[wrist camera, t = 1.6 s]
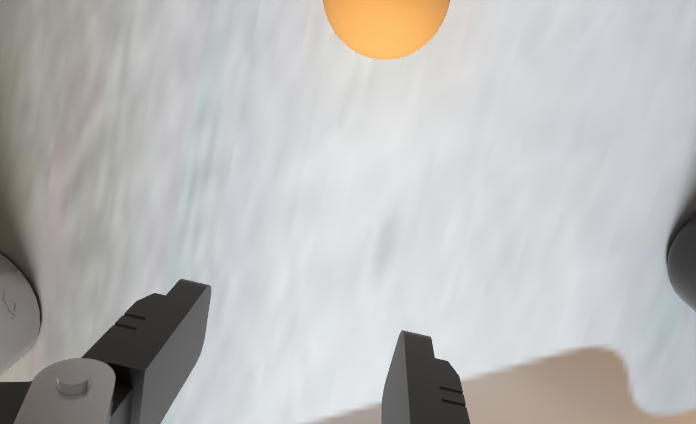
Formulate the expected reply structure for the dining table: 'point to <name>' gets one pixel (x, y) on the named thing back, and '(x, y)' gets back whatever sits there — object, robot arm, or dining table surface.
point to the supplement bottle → (684, 263)
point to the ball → (385, 24)
